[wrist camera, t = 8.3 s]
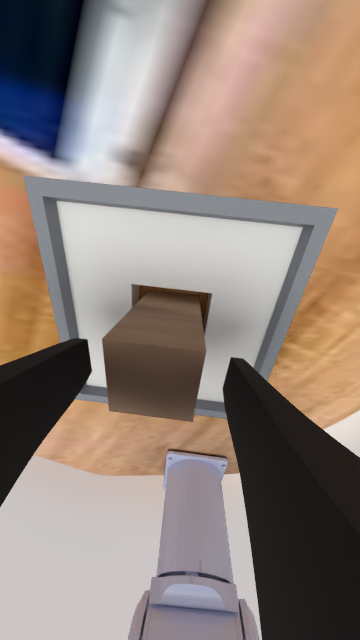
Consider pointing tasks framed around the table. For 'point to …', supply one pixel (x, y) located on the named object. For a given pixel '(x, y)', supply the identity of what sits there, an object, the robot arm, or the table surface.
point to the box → (175, 267)
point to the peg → (156, 357)
